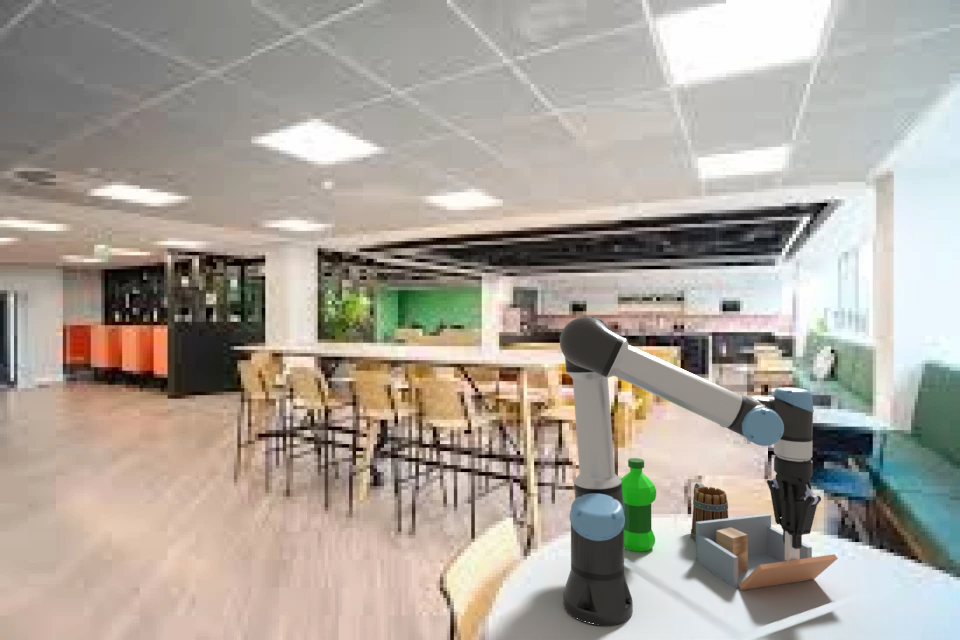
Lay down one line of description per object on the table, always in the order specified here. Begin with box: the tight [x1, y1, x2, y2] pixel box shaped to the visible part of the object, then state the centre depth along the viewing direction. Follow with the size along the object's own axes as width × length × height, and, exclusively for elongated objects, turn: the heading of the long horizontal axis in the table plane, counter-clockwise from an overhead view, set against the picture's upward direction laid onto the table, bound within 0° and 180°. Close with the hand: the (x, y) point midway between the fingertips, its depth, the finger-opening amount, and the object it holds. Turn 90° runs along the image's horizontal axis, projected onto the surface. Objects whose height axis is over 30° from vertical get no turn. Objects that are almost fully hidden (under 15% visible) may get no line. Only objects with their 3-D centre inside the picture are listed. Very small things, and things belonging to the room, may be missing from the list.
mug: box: [690, 482, 729, 543], centre depth 152 cm, size 16×11×15 cm
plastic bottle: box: [620, 457, 657, 553], centre depth 146 cm, size 10×10×25 cm
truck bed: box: [695, 513, 813, 589], centre depth 132 cm, size 22×14×12 cm, turn 104°
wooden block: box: [716, 527, 748, 574], centre depth 132 cm, size 5×5×9 cm
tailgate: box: [736, 553, 839, 591], centre depth 122 cm, size 20×1×11 cm
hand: (792, 560), depth 120 cm, fingers closed
